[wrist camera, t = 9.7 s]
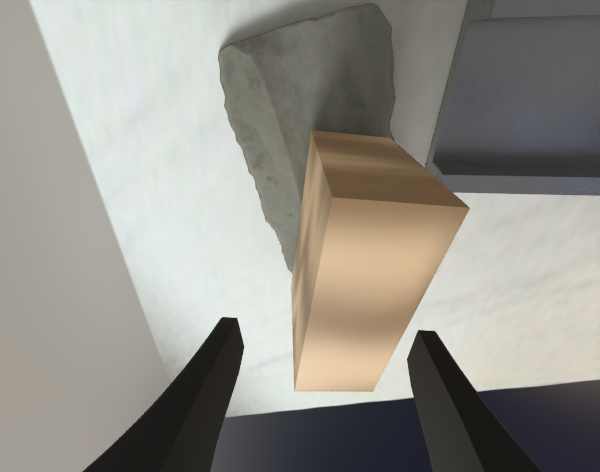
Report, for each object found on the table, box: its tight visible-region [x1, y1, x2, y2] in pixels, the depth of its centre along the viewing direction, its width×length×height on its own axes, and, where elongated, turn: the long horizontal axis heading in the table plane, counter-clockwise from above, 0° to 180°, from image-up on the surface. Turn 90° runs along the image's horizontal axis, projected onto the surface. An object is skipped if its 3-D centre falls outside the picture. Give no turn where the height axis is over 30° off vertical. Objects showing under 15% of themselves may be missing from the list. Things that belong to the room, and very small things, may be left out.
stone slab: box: [218, 4, 395, 274], centre depth 20 cm, size 22×3×10 cm
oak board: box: [291, 130, 470, 392], centre depth 15 cm, size 12×4×8 cm, turn 174°
